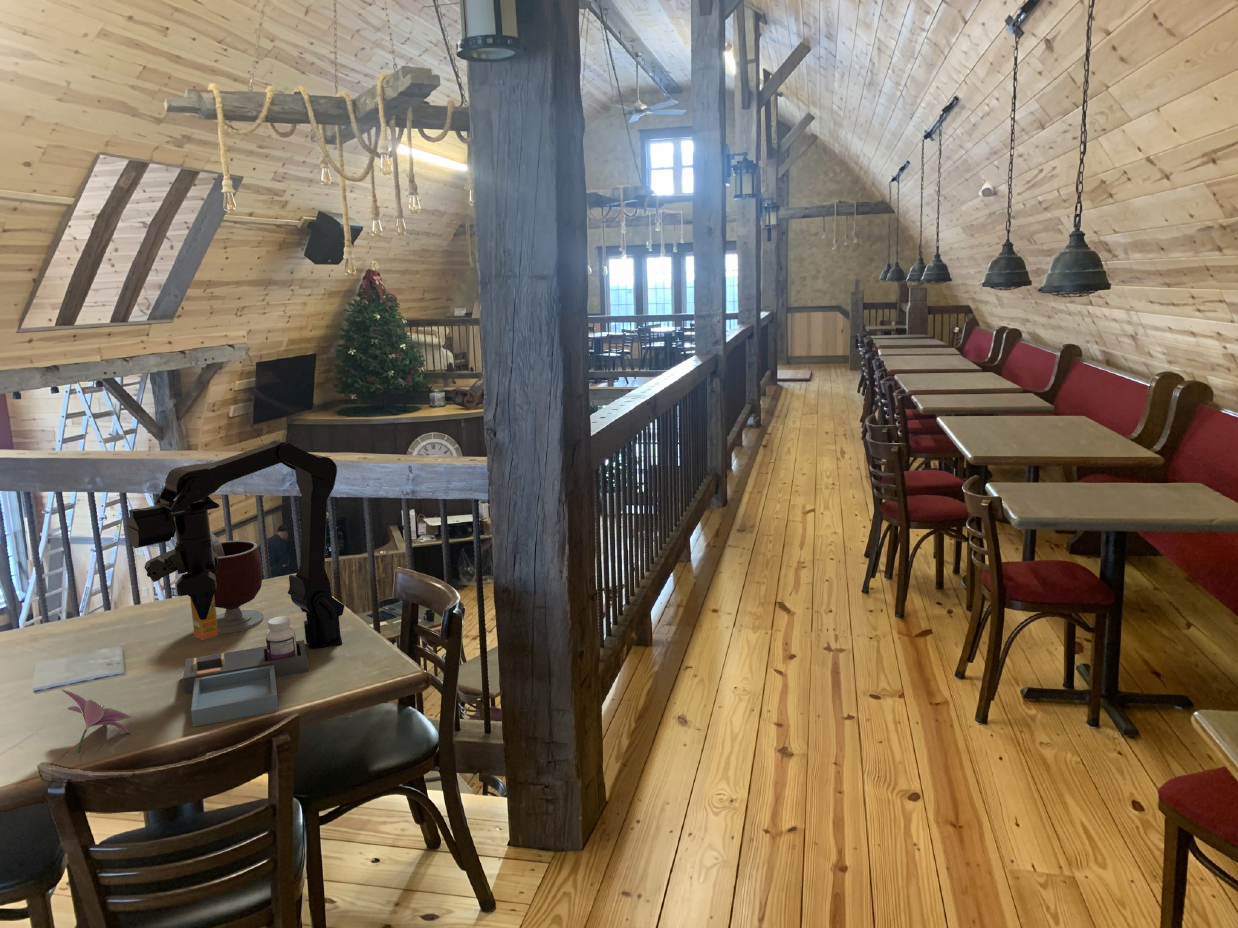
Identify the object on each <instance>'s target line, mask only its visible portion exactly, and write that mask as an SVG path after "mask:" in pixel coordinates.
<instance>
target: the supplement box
mask: <svg viewBox="0 0 1238 928" xmlns="http://www.w3.org/2000/svg"><path fill="white" fill-rule="evenodd" d="M189 599H190V606H191V607H190V608H191V616H192V625H193V636H194V637H195V638H197V639H199V640H200V641H204V640H207V639H210V638H214V637H216V636H219V633H218V629H217V618H216V615H217V610H216V609H217V607H215V598H214V596H213V599H212V602H211V605H210V609H209V612H208V616H207V619H204V620H200V618H199V616H198V613H197V611H196V609H195V606H194V604H193V601H192V599H191V597H190V596H189Z"/></svg>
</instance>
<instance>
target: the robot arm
mask: <svg viewBox="0 0 1238 928" xmlns="http://www.w3.org/2000/svg"><path fill="white" fill-rule="evenodd" d="M279 464H282V465H284V466H285V467H287V468H289V469H290V470H293V471H295V478H296V485H297V487H298V489H299V493H300V495H301V498H302V507H301V508H302V509H301V532H300V533H301V535H300V537H301V539H300V561H299V562H300V564H299V569H298V570H297V572H296V574H290V575H289V576H288V581H289V587H288V588H289V589H288V591H287V594H288V595H289V596H290V599H291V602H292V603H293V604H294V605H296V606H297V607H298V608H300V610H301V612H302V613H305V618H306V620H304V621H303V627H304V628H303V629H304V638H305V639H304V640H305V643H306V644H307V645H308V647H309V648H308V649H310V650H314V649H318V648H319V649H320V648H323V647H332V646H337V645H341V644H343V639H342V635H341V625H340V617H341V616H343V613H344V610H345V605H344V603H342V602H340V601H339V600H338V599H336V598H334V597H333V592H332V585H331V581H330V577H329V575H328V572H327V570H326V566H325V565H326V547H327V546H326V542H327V540H326V539H327V516H328V515H327V514H328V499H329V497H330V495H331V494H332V492H333V490H334V488H335V484H336V481H337V479H336V478H337V474H338V466H337V463H335V461H334V460H333V459H332V458H330V457H328V456H323V455H320V454H315V453H310V452H309V451H308V452H307V451H305V450H303V449H301V448H298V447H297V446H295V445H293V444H292V443H291V442H288V441H284V440H280V439H274V440H272V441H270V442H269V443H266V444H263V445H261V446H258V447H254V448H251V449H249V450H247V451H243V452H240V453H237V454H235V455H232V456H228V457H226V458H223V459H220V460H217V461H215V462H214V461H213V462H208V463H196V464H189V465H182V466H177V467H175V468H173V469H171V470H170V471H168V474H167V476H166V478H165V482H164V485H165V486H164V487H163V489H162V491H161V493H160V494H159V495H158V497H157V499H156V500H155V502H154V506H149V507H144V508H134V509H129V510H128V513H129V517H128V518H127V523H126V525H127V526H125V527H126V529H125V530H126V535H127V537H128V540H129V543H130V545H131V546H132V547H133V548H134V549H138V548H143V547H148V546H154V545H157V544H161V543H166V542H170V541H171V539H172V538H175V537H176V542H175V544H176V545H175V546H174V548H173V549H171V550H168V551H166V552H164V553H161V554H160V555H157V556H155V557H153V558H151V559H149V560H147V561H146V562H145V564H144V566H143V569H145V571H146V576H147V577H149V578H150V579H151V581H152V583H156V582H158V581H160V580H162V578H164V577H166V576H169V575H170V574H171V575H172V574H173V573H174V572H176V571H177V575H181V576H180V577H179V578H178V579H177V581H176V586H175V587H176V591H177V596H179V597H183V596H184V597H185V596H188V597H189V598H190V597H191V599H192V601H193V604H194V606H195V609H196V611H197V613H198V616H199V618H200V620H204V619H207V616H208V612H209V609H210V605H211V602H212V599H213V596H214V592H215V590H216V585H217V582H216V578H217V572H218V570H209V569H214V566H215V567H216V566H218V557H217V553H215V552H214V551H213V549H212V535H211V533H212V532H211V527H210V525H211V524H210V517H209V510H216V509H219V508H220V504H219V502H218V503H217V502H216V501H214V500H213V499H212V498H211V497H210V496H211V495H212V494H214V493H216V492H217V491H218V490H219V489H220V488H221V487H222V486H224V485H226V484H227V483H229V482H233V481H235V480H238V479H240V478H241V479H242V478H243V477H246V476H249V475H251V474H254V473H257V472H259V471H262V470H265V469H267V468H271V467H273V466H276V465H279ZM175 535H176V536H175Z"/></svg>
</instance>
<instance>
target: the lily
mask: <svg viewBox="0 0 1238 928" xmlns="http://www.w3.org/2000/svg"><path fill="white" fill-rule="evenodd" d="M60 690H61V692H63V693H64V694H66V695H67V696H69V697H70V698H71V699H72V700H74V702H75V703H76V704H77V706H75V705H73V706H69V707H67V710H68V711H73V712H75V713H76V712H77V713H79V714H82V717H83V719H84V723H85V729H84V731H83V733H82V736H81V737H80V742H79V746H78V749H77V753H78V754H79V753H81V748H82V745H83V741H84V739H85V735H86V733H87V731H88V729H89V728H92V727H94V726H95V727H96V726H101V725H102V726H105V727H107V726H113V727H116V728H118V729H120V730H123V731H125V732H127V733H128V734H131V732H130V731H129V730H128V728H126V727H125V726H124V725H123V724H121V723H120V721H123V720H128V719H133V716H132V715H129V714H127V713H125V712H122V711H121V710H117V709H113V708H105V705H102V704H99V703H97V702H96V701H94V700H93V699H88V700H86V699H85V698H84V697H82V696H81V695H79V694H77V693H73V692H72V691H70V690H65V689H60ZM101 705H102V706H101ZM118 721H119V722H118Z"/></svg>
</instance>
